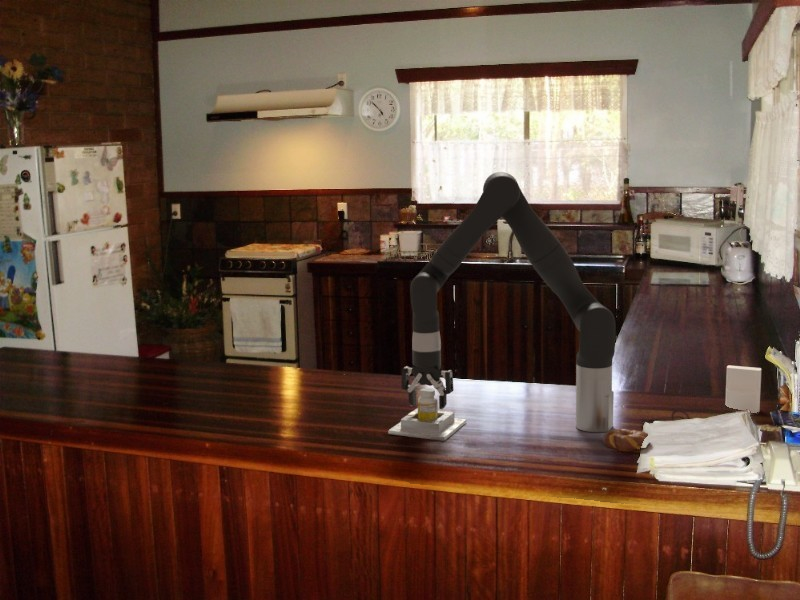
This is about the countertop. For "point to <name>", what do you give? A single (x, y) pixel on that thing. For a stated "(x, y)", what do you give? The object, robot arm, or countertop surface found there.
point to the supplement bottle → (427, 405)
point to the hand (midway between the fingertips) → (427, 406)
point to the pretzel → (624, 439)
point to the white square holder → (428, 426)
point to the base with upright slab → (743, 388)
